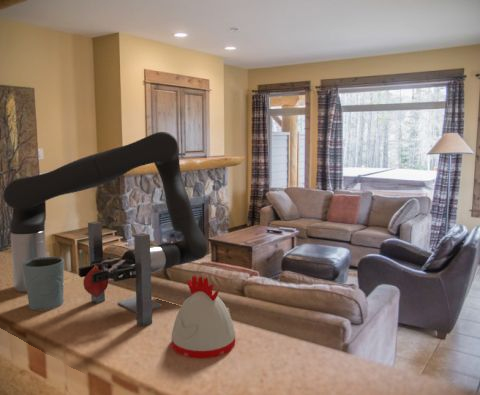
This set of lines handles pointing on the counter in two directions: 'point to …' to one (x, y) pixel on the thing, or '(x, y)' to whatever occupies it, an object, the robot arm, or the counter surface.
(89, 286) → the onion
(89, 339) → the counter surface
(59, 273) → the teal cup
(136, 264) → the right post
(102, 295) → the left post
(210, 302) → the kitchen timer
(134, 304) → the mat
